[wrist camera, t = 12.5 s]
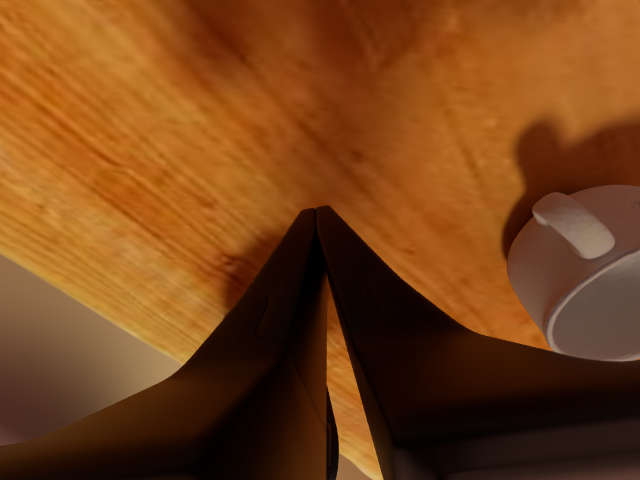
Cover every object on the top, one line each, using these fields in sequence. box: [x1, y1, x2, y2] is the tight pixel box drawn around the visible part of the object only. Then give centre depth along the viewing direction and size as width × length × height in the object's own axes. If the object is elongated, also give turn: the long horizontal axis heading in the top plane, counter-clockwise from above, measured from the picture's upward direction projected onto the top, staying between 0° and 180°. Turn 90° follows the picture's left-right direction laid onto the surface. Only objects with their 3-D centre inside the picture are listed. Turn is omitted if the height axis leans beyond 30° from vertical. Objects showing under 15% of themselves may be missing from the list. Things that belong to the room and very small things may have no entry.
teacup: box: [507, 185, 640, 361], centre depth 20 cm, size 14×11×8 cm
